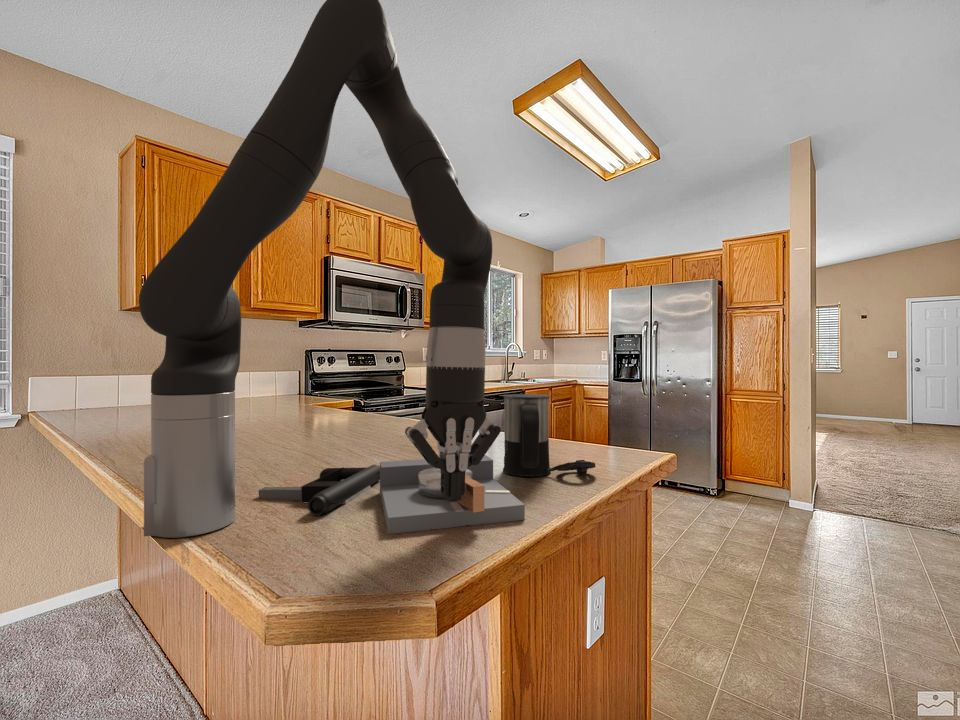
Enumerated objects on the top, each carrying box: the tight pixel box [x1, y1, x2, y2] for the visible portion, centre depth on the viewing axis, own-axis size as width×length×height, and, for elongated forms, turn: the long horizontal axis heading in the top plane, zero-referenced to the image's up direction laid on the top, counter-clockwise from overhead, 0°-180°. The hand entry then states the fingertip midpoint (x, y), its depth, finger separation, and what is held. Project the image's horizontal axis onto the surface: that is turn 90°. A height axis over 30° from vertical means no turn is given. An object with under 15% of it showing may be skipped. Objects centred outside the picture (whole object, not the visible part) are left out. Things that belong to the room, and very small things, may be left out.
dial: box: [418, 468, 484, 513], centre depth 63 cm, size 15×8×3 cm, turn 27°
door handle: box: [257, 464, 380, 516], centre depth 72 cm, size 3×20×16 cm
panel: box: [379, 454, 526, 535], centre depth 66 cm, size 18×18×5 cm
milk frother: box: [502, 393, 596, 477], centre depth 85 cm, size 14×16×15 cm
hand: (452, 499), depth 58 cm, fingers closed
